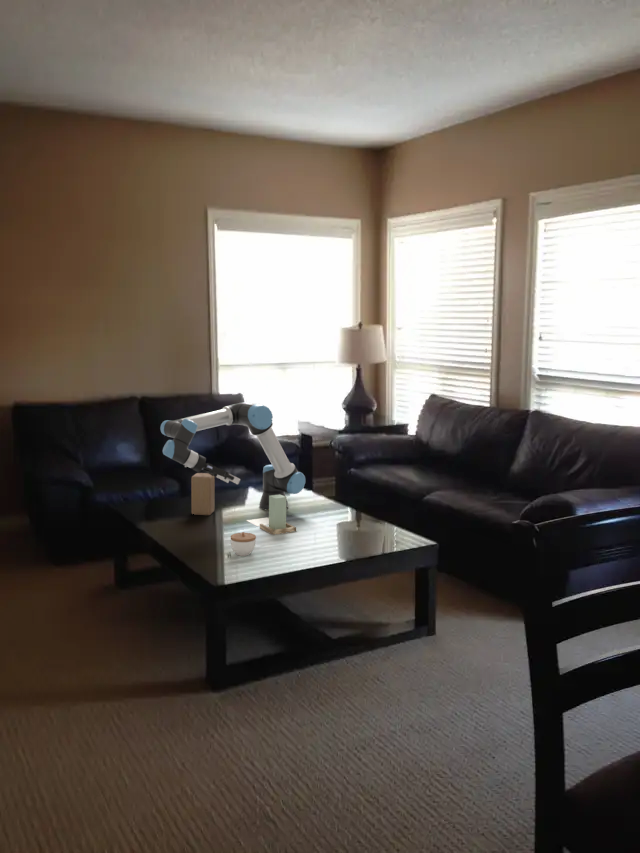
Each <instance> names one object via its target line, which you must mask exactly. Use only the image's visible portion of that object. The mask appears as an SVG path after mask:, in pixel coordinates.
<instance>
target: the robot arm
mask: <svg viewBox="0 0 640 853" xmlns="http://www.w3.org/2000/svg"><path fill="white" fill-rule="evenodd" d="M273 424H274V423H273V412H272V411H271V409H270V408H269V407H267V406H266V405H263V404H260V403H251V402H247V401H246V402H244V401H243V402H239V403H234V404H230V405H225V406H223V407H222V408H221V409H218V410H214V411H210V412H206V413H205V412H204V413H200V414H196V415H191V416H187V417H184V418H179V419H175V420H171V419H170V420H168V419H167V420H164V421H162V423H161V424H160V428H159V429H160V432H161V434H162V435H164V436H166V437H168V438H173V439H168V440H167V441H166V442H165V444H164V446H163V447H162V454H163V456H165V457H167V458H169V459H171V460H173V461H175V462H177V463H179V464H180V465H183V466H184V468H187V467H188V468H190V469H192V470H193V471H195V472H197V473H201V471H202V472H204V473H209V474H210V475H212V476H215V478H217V479H220V480H221V481H223V482H225V483H227V484H229V482H232V483H234V484H235V485H239V484H240V482H241V478H239V477H237V476H236V475H233V474H232V473H230V472H228V471H226V470H224V469H222V468H220V467H217V466H215V465H213V464H211V463H210V462H207V463H206V461H207V457H205V456H203V455H201V454H199V453H198V452H196V451H194V450H192V449H189V446H190V444H191V442H192V440H193V439H194V436H195V434H196V432H200V431H202V430H206V429H211V428H215V427H219V426H224V425H226V426H233V425H238V426H239V425H240V426H244V427H247V428H248V430H249V431H250V434H252V436H255V437H256V438H257V440H258V441H259V443H260V445H261V447H262V449H263V451H264V453H265V455H266V456H267V458H268V460H269V462H270V463H271V464H266V465H265V466H263V470H262V495H261V498H260V501H259V508H260V509H261V508H262V510H265V509H269V496H271V495H279V494H280V495H283V496H285V497H286V507H287V506H288V507H289V503H288V499H287V495H286V493H288V494H291V495H296V494H299V493H300V492H302V491H303V489H304V487H305V484H306V476H305V475H304V473H303V472H301V471H299V470H298V469H297V467H296V465H295V464H294V463H293V462H290V460H289V458H288V457H287V455H286V453H285V451H284V449H283V447H282V445H281V443H280V441H279V440H278V438H277V435H276V434H275V433H276V432H274V430H273V428H272V427H273Z"/></svg>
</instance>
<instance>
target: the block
mask: <svg viewBox="0 0 640 853" xmlns="http://www.w3.org/2000/svg"><path fill="white" fill-rule="evenodd" d="M215 478H216V477H215V476H212V475H210V474H209V473H207V472H197V473H195V474H193V475H192V476H191V482H190V483H191V486H190V487H191V489H190V490H191V495H190V496H191V497H190V498H191V504H190V505H191V514H192V515H193V514H194V515H193V516H211V515H212V514H213V513H214V512H215V507H216V506H215V502H216V501H215V500H216V499H215V494H216V493H215V489H216V488H215V487H216V486H215V483H216V482H215V481H216V480H215Z"/></svg>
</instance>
